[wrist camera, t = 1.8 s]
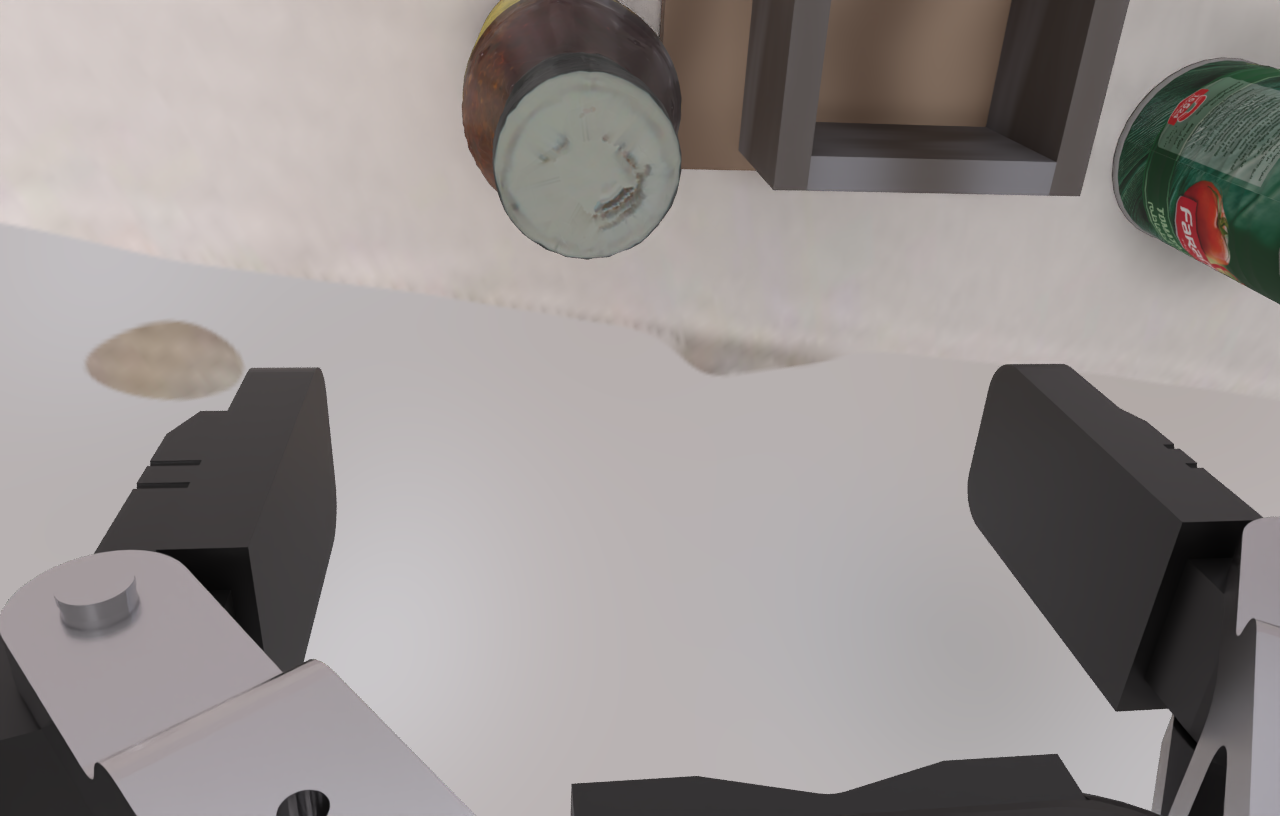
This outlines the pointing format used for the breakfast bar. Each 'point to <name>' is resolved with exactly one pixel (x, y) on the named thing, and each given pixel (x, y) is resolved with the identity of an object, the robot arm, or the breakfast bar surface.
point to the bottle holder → (894, 91)
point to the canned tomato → (1209, 168)
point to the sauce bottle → (575, 122)
